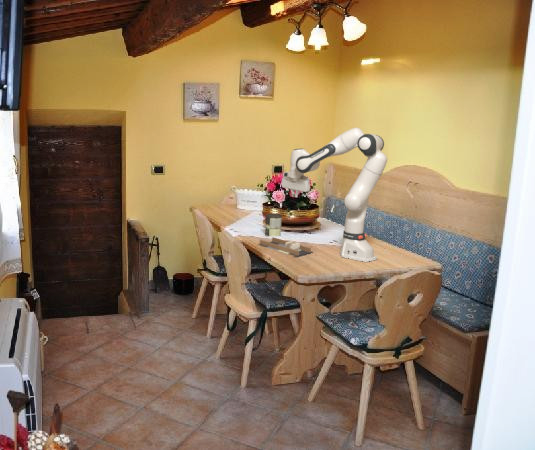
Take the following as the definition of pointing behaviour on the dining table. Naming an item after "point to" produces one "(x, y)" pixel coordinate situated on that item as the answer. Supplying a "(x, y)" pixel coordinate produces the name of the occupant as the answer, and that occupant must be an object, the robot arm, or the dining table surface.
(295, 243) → the block
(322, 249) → the dining table surface
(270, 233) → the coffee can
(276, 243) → the runway
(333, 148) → the robot arm
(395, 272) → the dining table surface
